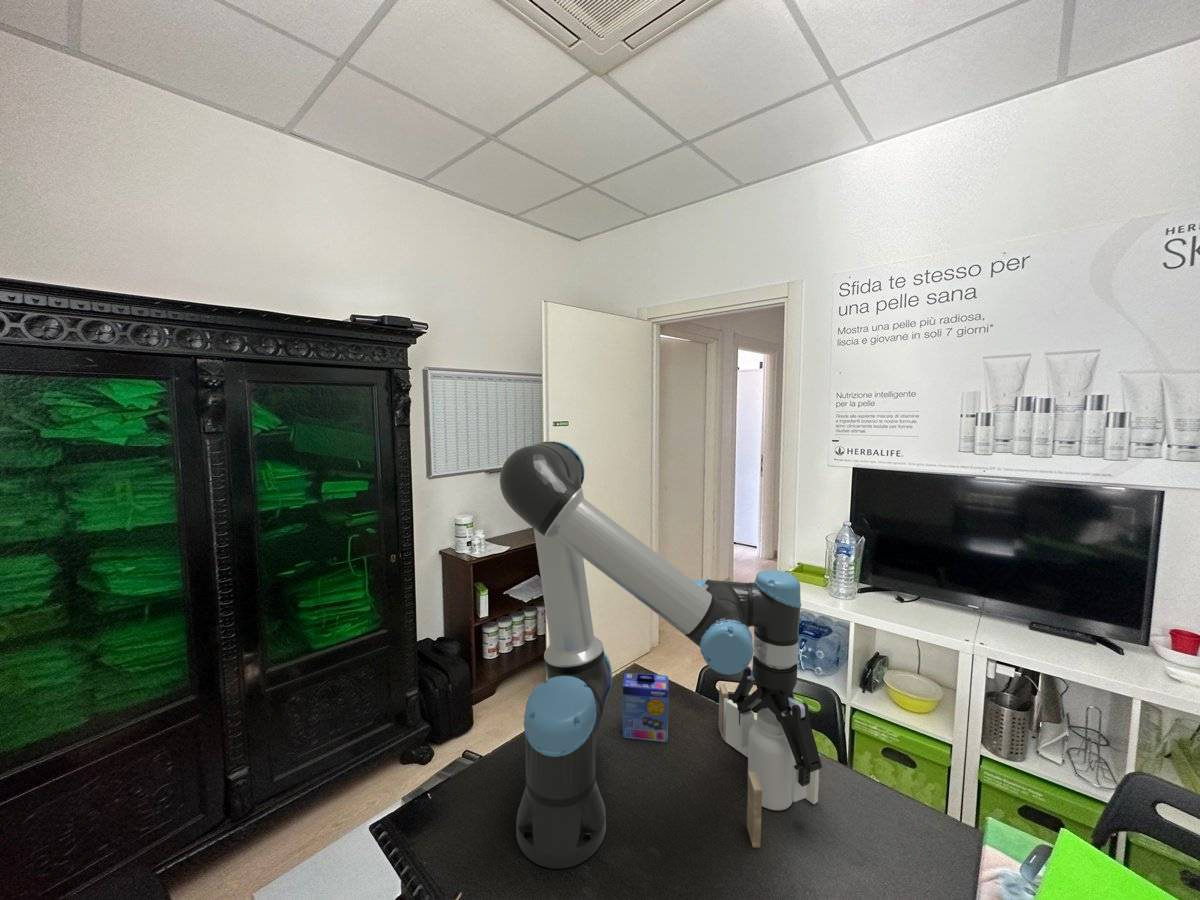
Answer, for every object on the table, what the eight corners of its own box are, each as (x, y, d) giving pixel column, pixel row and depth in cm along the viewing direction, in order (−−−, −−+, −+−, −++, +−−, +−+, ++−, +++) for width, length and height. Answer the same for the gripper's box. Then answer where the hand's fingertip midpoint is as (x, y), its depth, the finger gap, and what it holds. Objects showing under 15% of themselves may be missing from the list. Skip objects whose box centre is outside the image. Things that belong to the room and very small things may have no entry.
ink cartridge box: (621, 739, 100) (621, 675, 99) (623, 722, 106) (623, 661, 105) (668, 743, 99) (669, 678, 98) (667, 726, 105) (668, 664, 103)
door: (814, 804, 84) (816, 757, 83) (721, 739, 100) (722, 699, 99) (817, 801, 84) (819, 754, 83) (725, 736, 101) (726, 697, 100)
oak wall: (752, 847, 76) (754, 789, 75) (718, 726, 105) (719, 683, 104) (760, 847, 76) (762, 790, 75) (724, 726, 104) (725, 683, 104)
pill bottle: (785, 778, 90) (788, 704, 89) (799, 814, 82) (802, 733, 81) (743, 775, 91) (745, 701, 89) (752, 810, 83) (754, 730, 81)
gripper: (715, 631, 94) (713, 730, 96) (813, 704, 71) (807, 833, 73) (746, 625, 97) (743, 722, 99) (850, 693, 74) (843, 818, 76)
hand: (770, 769), depth 86 cm, fingers open, 13 cm apart
